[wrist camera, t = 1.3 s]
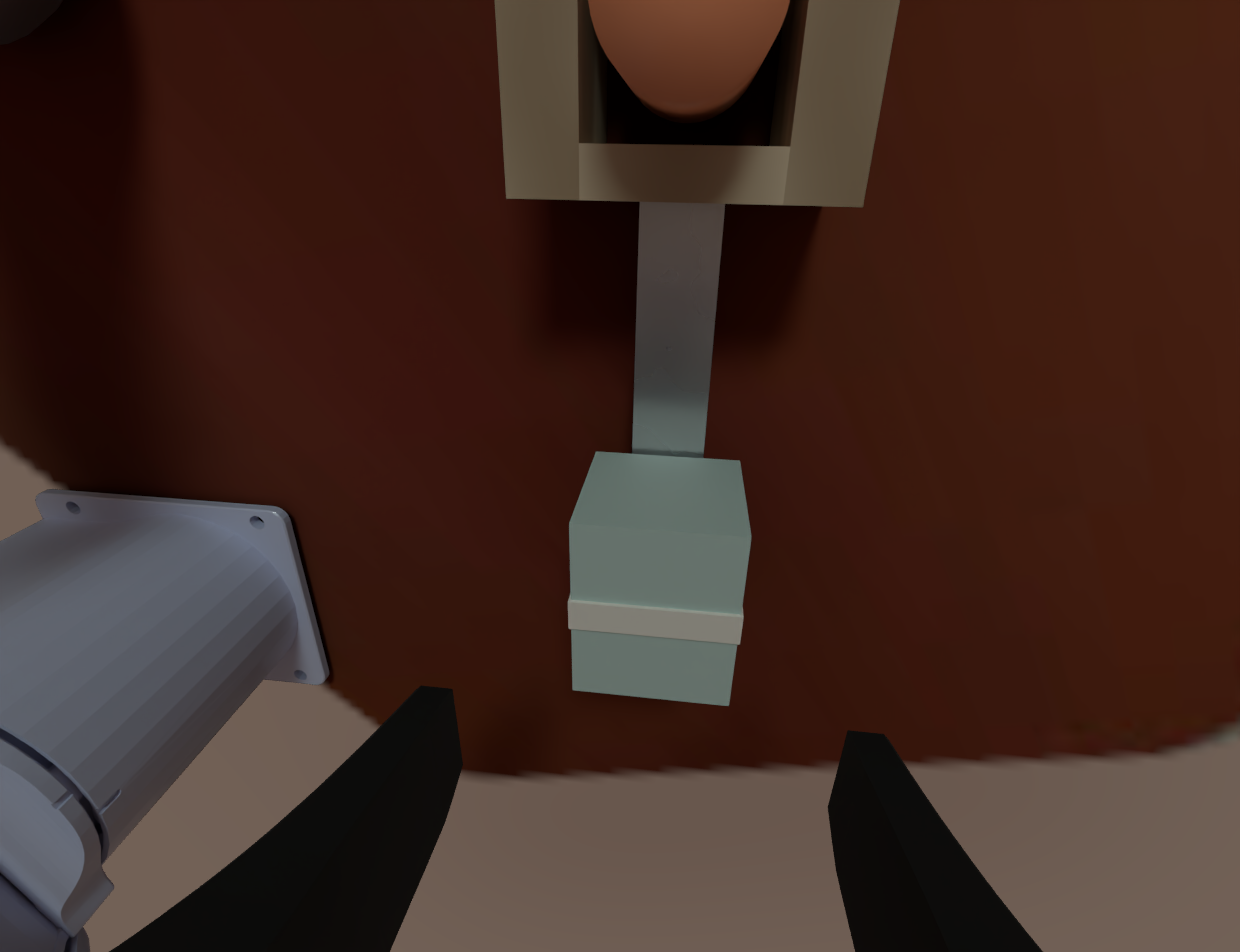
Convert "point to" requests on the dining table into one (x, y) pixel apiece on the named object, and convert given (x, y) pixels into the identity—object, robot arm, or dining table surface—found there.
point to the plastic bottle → (23, 17)
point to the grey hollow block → (760, 175)
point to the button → (687, 50)
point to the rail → (675, 325)
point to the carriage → (658, 577)
